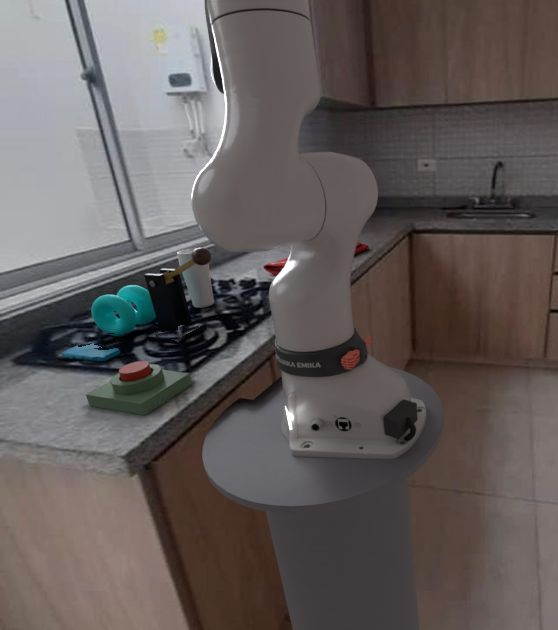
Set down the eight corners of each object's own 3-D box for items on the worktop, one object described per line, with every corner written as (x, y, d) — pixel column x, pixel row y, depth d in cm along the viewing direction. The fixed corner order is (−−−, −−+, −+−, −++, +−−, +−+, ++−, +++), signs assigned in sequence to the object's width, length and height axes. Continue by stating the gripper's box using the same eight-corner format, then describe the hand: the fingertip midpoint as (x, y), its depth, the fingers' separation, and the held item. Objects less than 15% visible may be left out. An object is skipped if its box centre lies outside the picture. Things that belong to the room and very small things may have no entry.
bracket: (206, 328, 103) (192, 267, 98) (176, 344, 95) (158, 278, 90) (179, 325, 106) (163, 265, 100) (148, 341, 98) (129, 277, 92)
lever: (218, 258, 92) (208, 243, 91) (205, 263, 88) (195, 247, 88) (171, 287, 98) (161, 272, 98) (157, 292, 95) (148, 277, 94)
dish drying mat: (369, 249, 173) (369, 240, 172) (300, 278, 139) (298, 267, 138) (337, 247, 180) (336, 238, 178) (263, 274, 146) (261, 263, 144)
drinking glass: (213, 308, 116) (200, 252, 111) (186, 310, 116) (172, 254, 110) (220, 300, 123) (208, 247, 117) (195, 302, 122) (182, 248, 116)
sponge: (92, 362, 87) (120, 347, 91) (58, 353, 92) (87, 339, 96) (95, 368, 87) (123, 353, 92) (61, 359, 92) (90, 345, 97)
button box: (192, 383, 78) (187, 363, 77) (145, 415, 70) (137, 393, 68) (141, 376, 82) (135, 357, 81) (89, 406, 73) (81, 384, 72)
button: (157, 371, 76) (155, 362, 75) (135, 384, 72) (132, 374, 71) (138, 368, 77) (135, 359, 76) (115, 381, 73) (112, 371, 73)
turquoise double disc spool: (96, 338, 101) (82, 297, 97) (128, 321, 110) (116, 283, 106) (135, 338, 99) (122, 297, 96) (165, 322, 109) (154, 283, 105)
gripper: (224, 136, 101) (194, 185, 97) (285, 130, 91) (254, 184, 87) (244, 156, 106) (217, 202, 102) (304, 153, 96) (276, 205, 92)
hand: (234, 194), depth 94 cm, fingers closed
